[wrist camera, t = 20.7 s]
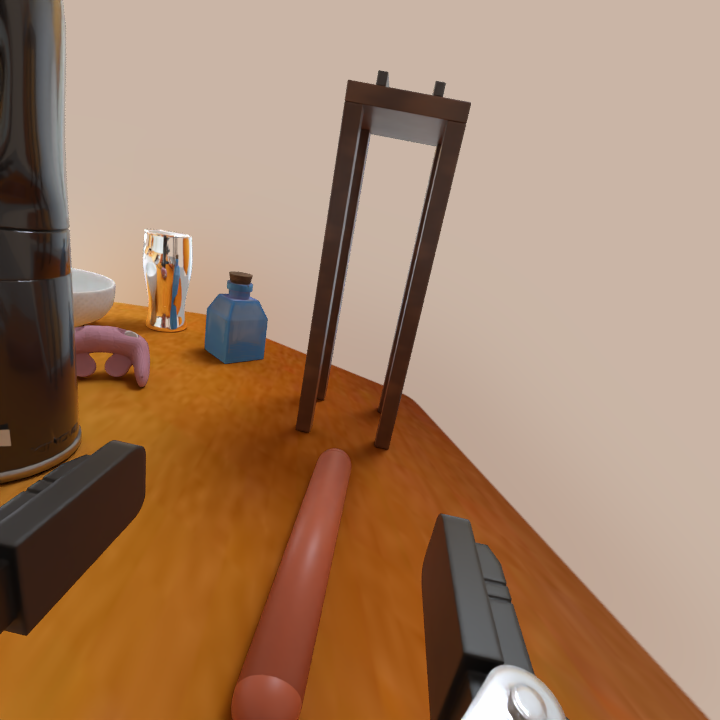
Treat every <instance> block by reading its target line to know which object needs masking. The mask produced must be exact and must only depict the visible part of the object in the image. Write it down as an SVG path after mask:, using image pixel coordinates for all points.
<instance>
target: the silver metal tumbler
mask: <svg viewBox="0 0 720 720" xmlns="http://www.w3.org/2000/svg"><path fill="white" fill-rule="evenodd" d="M143 269H144V277H145V282H146V287H147V293H148V299H149V300H148V301H149V307H148V314H147V318H146V327H148V328H149V329H152V330H156V331H163V332H177V331H182V330H184V329H186V327H187V325H186V318H185V300H186V295H187V291H188V287H189V282H190V278H191V272H192V236H190V235H186V234H182V233H177V232H172V231H165V230H157V229H145V235H144V245H143Z"/></svg>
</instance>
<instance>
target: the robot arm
mask: <svg viewBox="0 0 720 720" xmlns="http://www.w3.org/2000/svg"><path fill="white" fill-rule="evenodd" d="M65 84H66V25H65V15H64V5H63V0H0V483H4V482H9V481H13V480H18V479H21V478H25V477H28V476H31V475H34V474H37V473H40V472H42V471H45V470H47V469H49V468H51V467H54V466H56V465H57V464H59V463H61V462H62V461H64V460H66V459H67V458H68V457H70V456H71V455H72V454H73V453H74V452H75V451H76V450H77V448H78V447H79V445H80V443H81V427H80V425H79V411H78V385H77V365H76V345H75V324H74V304H73V284H72V267H71V248H70V230H69V229H68V228H69V212H68V196H67V178H66V177H67V176H66V154H65V153H66V152H65V86H66V85H65ZM145 477H146V452H145V449H144V447H142V446H139V445H134V444H130V443H125V442H121V441H116V440H113V441H110V442H109V443H107V444H106V445H104V446H103V447H102V448H100V449H99V450H97V451H96V452H95V453H93V454H92V455H91V456H90V455H84V456H81V457H79V458H76V459H74V460H71V461H69V462H66V463H64V464H62V465H60V466H59V467H57V468H56V469H54V470H53V471H52V472H50V473H49V474H47V475H46V476H44V477H43V479H42V480H39V481H37V482H36V483H34V484H33V485H31V486H30V487H28V488H27V491H26V492H24V491H23V492H21V493H20V494H18V495H17V496H15V497H14V498H13V499H11V500H10V501H8V502H7V503H5V504H4V505H3V506H1V507H0V634H1V633H2V632H3V631H9V632H13V633H17V634H21V635H25V636H27V635H28V634H29V633H30V631H31V630H32V629H33V628H34V627H35V626H36V625H37V624H38V623H39V622H40V621H41V619H42V618H43V617H44V616H45V615H46V614H47V613H48V612H49V611H50V610H51V609H52V607H53V606H54V605H55V604H56V603H57V602H58V601H59V600H60V599H61V598H62V597H63V596H64V594H65V593H66V592H67V591H68V590H69V589H70V588H71V587H72V586H73V585H74V584H75V582H76V581H77V580H78V579H79V578H80V577H81V576H82V575H83V574H84V573H85V572H86V570H87V569H88V568H89V567H90V566H91V565H92V564H93V563H94V562H95V561H96V560H97V558H98V557H99V556H100V555H101V554H102V553H103V552H104V551H105V550H106V549H107V548H108V546H109V545H110V544H111V543H112V542H113V541H114V540H115V539H116V538H117V537H118V536H119V535H120V533H121V532H122V531H123V530H124V529H125V528H126V527H127V526H128V525H129V524H130V523H131V521H132V520H133V519H134V518H135V517H136V516H137V514H138V513H139V511H140V509H141V507H142V504H143V502H144V498H145ZM422 597H423V613H424V628H425V643H426V659H427V674H428V689H429V704H430V720H569V719H568V718H567V717H565V714H564V712H563V710H562V708H561V706H560V704H559V702H558V701H557V699H556V698H555V696H554V695H553V693H552V692H551V691H550V690H549V689H548V687H547V686H546V685H545V684H544V683H543V682H542V681H541V680H540V679H538V678H537V677H536V676H535V674H534V671H533V668H532V665H531V662H530V658H529V655H528V652H527V649H526V645H525V642H524V639H523V636H522V632H521V629H520V626H519V622H518V619H517V616H516V613H515V609H514V606H513V604H511V596H510V593H509V590H508V587H506V580H505V577H504V573H503V570H502V567H501V564H500V562H499V561H498V559H497V558H496V557H495V555H494V554H493V552H492V551H491V550H490V548H489V547H488V546H487V545H484V544H480V543H475V539H474V535H473V531H472V527H471V524H470V521H469V520H468V519H463V518H459V517H454V516H450V515H445V514H439V516H438V517H437V520H436V523H435V526H434V530H433V533H432V536H431V539H430V542H429V545H428V549H427V552H426V555H425V558H424V563H423V569H422Z"/></svg>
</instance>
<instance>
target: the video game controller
mask: <svg viewBox="0 0 720 720" xmlns="http://www.w3.org/2000/svg"><path fill="white" fill-rule="evenodd" d="M75 345H76V365H77V376H81V377H87V376H90V375H92V374H93V373H94V372H95V370H96V363H95V361H94V360H93V359H92V358H91V357H90V355H89V353H93V352H107V353H113V355H112V356H111V357H110V358H109V359H108V360H107V361H106V363H105V370H106V372H107V373H108V374H110V375H111V376H114V377H121V376H124V375H125V374H126V373H127V372H128V370H129V369H130V367H131V366H132V365H133V366H134V371H135V377H136V381H137V383H138V385H139V386H140V387H143V386H145V385H146V383H147V381H148V377H149V369H150V355H149V347H148V343H147V342H146V340H145V339H144V338H142V337H141V336H140V335H138V334H136V333H135V332H132V331H128V330H125V329H121V328H117V327H110V326H82V327H76V328H75Z"/></svg>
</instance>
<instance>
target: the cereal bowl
mask: <svg viewBox="0 0 720 720" xmlns="http://www.w3.org/2000/svg"><path fill="white" fill-rule="evenodd" d="M72 284H73V304H74V324H75V328H76V327H79V326H82V325H85V324H89V323H92V322H95V321H96V320H99V319H100V318H102V317H103V316H105V315H106V313H107V312H108V311H109V310H110V309H111V307H112V305H113V302H114V298H115V282H114V281H113V280H111V279H110V278H107V277H106V276H103V275H100V274H97V273H93V272H89V271H85V270H79V269H74V268H72Z"/></svg>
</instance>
